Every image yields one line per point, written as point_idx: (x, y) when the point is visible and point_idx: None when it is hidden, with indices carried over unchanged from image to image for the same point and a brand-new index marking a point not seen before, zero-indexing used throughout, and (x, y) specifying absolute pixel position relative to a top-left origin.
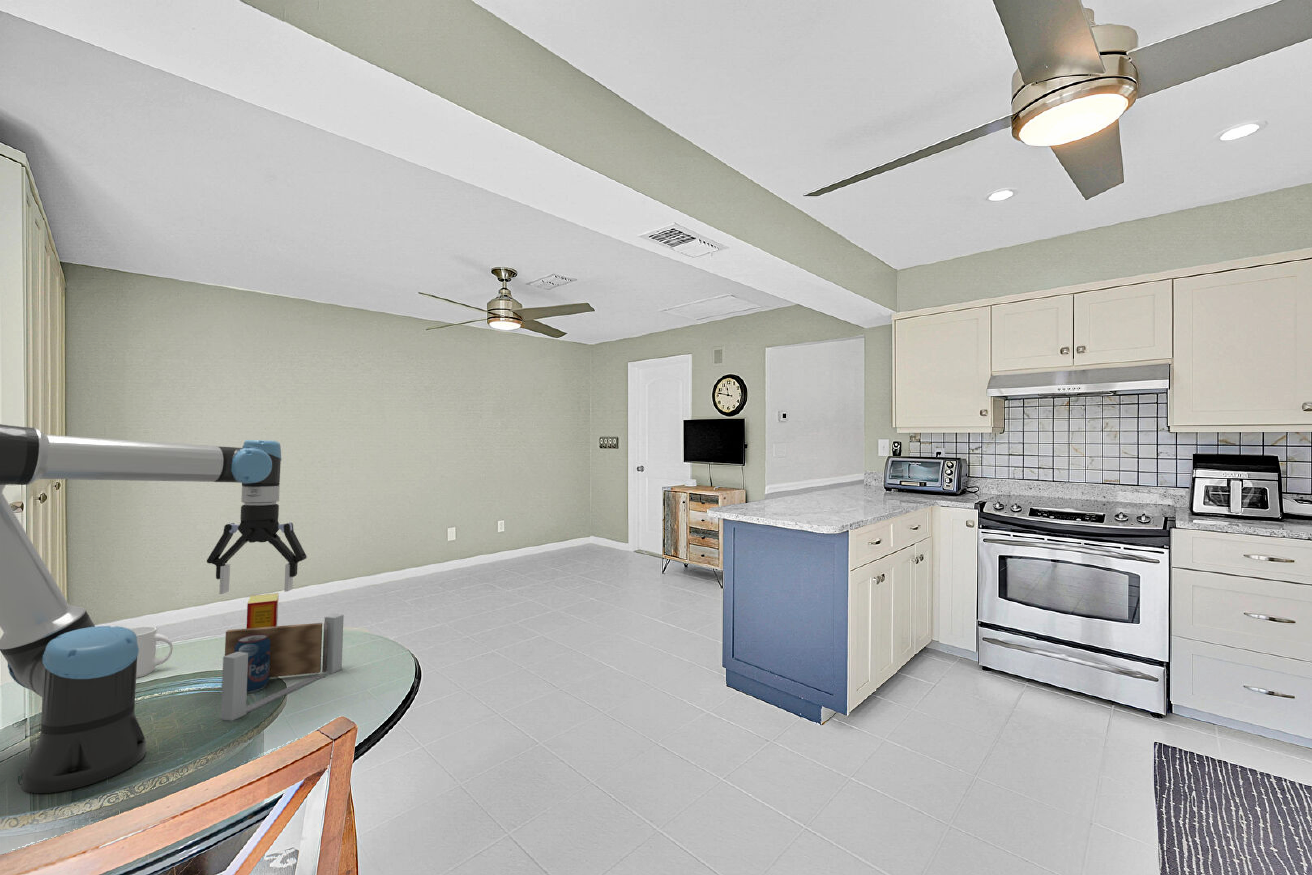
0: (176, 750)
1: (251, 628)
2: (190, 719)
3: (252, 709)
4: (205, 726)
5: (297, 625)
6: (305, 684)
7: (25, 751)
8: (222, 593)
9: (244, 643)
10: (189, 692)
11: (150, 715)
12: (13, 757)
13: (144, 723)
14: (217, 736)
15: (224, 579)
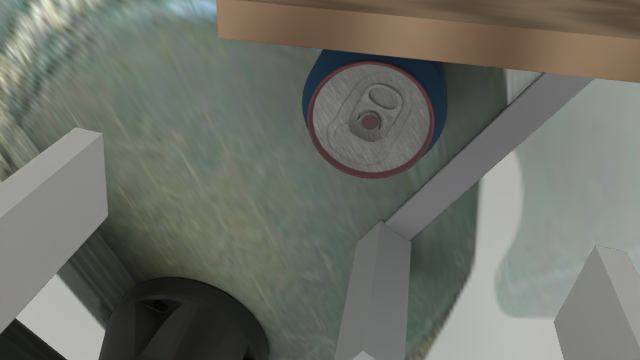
0: (315, 341)
1: (333, 16)
2: (285, 213)
3: (423, 226)
4: (334, 265)
5: (591, 53)
6: (569, 98)
7: None
8: (102, 215)
9: (347, 168)
10: (198, 3)
11: (175, 148)
12: None
13: (187, 191)
14: None
15: (34, 280)
